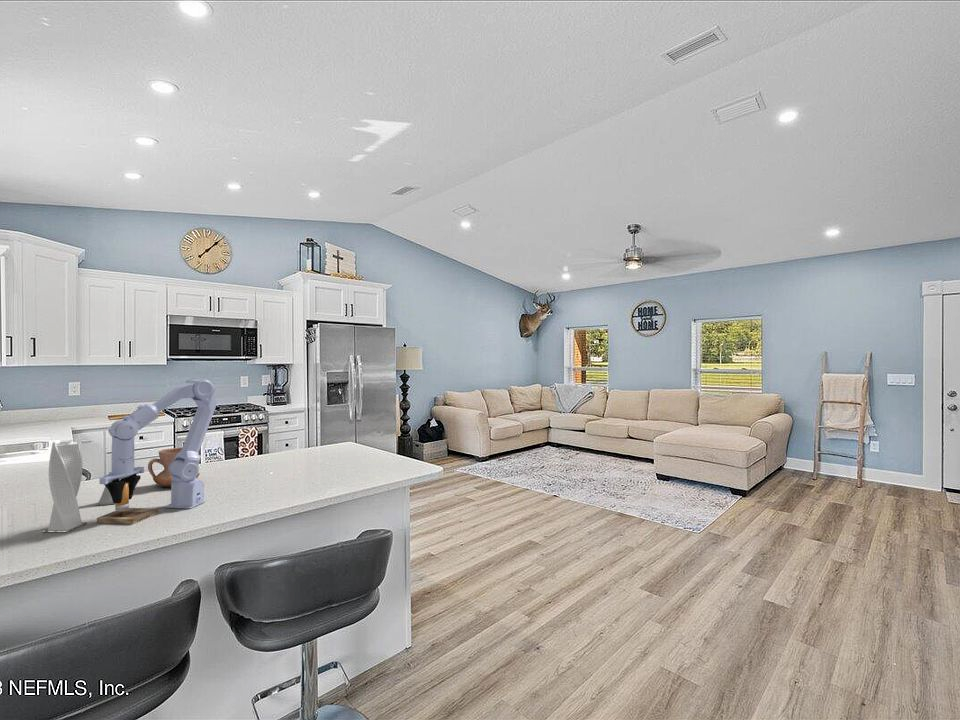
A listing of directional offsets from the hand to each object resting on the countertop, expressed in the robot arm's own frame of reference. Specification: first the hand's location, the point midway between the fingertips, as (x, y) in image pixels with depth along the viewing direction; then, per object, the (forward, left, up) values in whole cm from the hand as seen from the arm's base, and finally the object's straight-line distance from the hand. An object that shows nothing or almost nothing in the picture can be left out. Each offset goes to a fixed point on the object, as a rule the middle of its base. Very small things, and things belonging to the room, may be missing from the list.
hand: (122, 501), depth 146 cm
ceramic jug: (+12, -38, -6) cm, 40 cm away
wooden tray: (-1, -1, -6) cm, 6 cm away
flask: (+18, -15, -6) cm, 24 cm away
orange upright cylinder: (0, 0, -2) cm, 2 cm away
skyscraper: (+9, +9, -6) cm, 15 cm away
